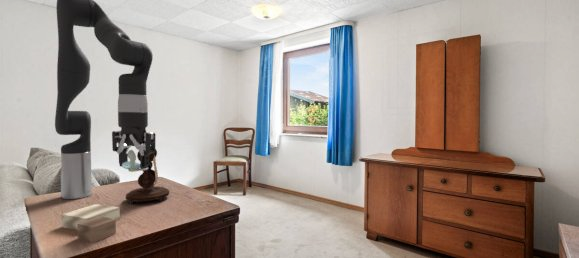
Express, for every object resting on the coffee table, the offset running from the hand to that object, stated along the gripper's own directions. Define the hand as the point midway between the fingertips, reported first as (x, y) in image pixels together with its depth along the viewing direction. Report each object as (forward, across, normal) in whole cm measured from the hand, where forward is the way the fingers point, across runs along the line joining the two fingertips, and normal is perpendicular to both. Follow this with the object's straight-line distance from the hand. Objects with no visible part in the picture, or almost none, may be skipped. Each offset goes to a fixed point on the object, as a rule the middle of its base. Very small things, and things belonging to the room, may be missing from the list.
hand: (133, 167), depth 82 cm
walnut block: (+17, -2, -10) cm, 20 cm away
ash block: (+17, -12, -4) cm, 21 cm away
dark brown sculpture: (+17, -15, +20) cm, 30 cm away
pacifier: (+1, 0, +1) cm, 1 cm away
